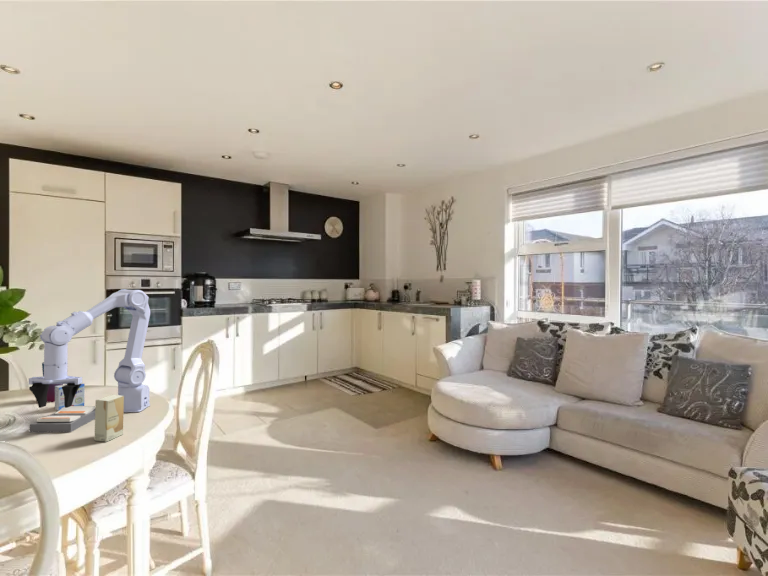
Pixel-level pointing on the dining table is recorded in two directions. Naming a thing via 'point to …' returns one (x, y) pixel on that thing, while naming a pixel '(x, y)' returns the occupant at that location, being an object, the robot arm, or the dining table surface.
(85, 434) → the dining table surface
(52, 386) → the cup
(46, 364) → the robot arm
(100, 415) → the skincare box
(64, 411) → the orange-striped cream panel
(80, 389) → the medicine box
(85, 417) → the grey divided tray
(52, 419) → the rocker
